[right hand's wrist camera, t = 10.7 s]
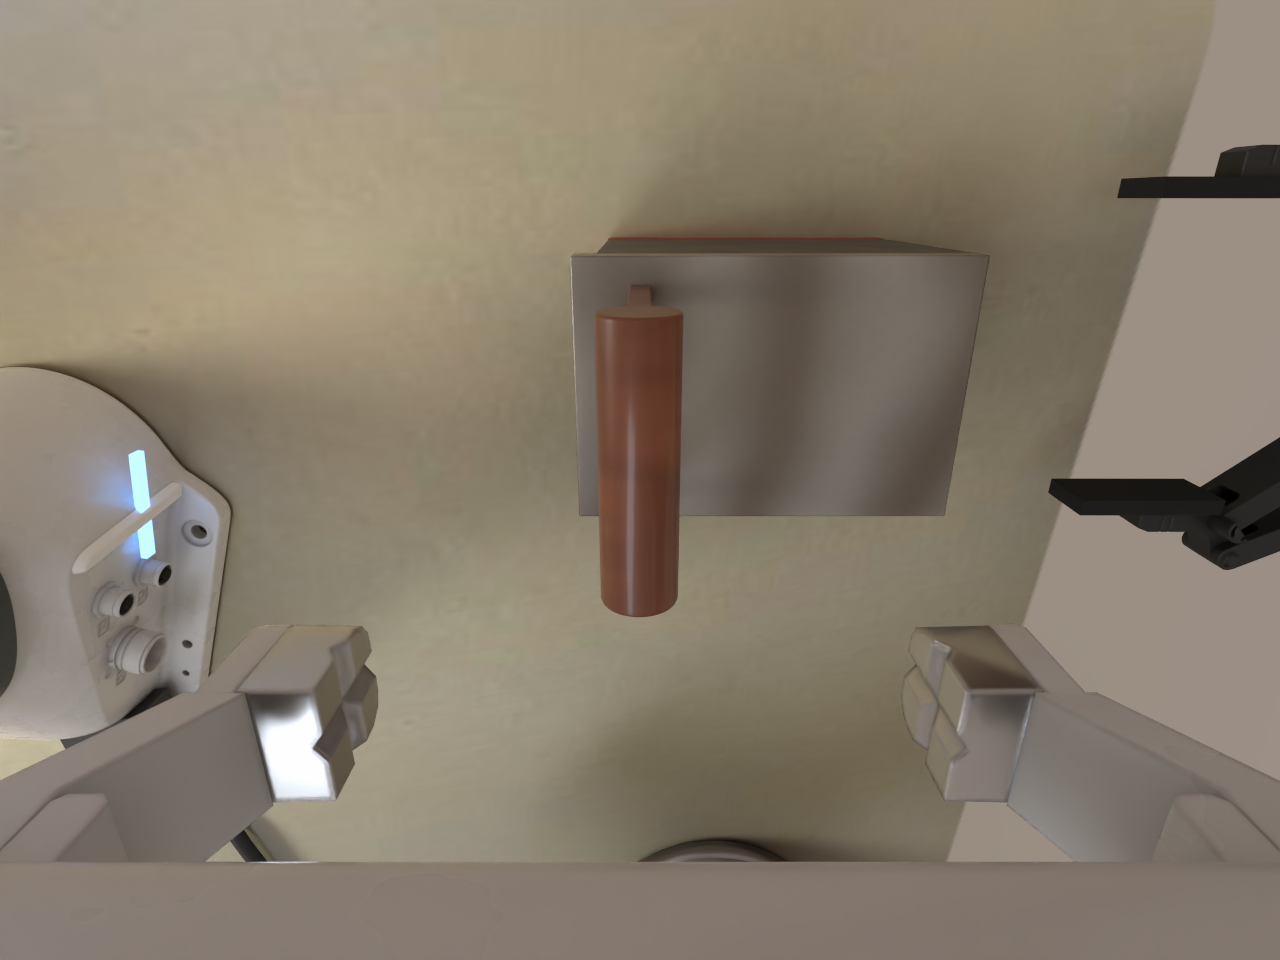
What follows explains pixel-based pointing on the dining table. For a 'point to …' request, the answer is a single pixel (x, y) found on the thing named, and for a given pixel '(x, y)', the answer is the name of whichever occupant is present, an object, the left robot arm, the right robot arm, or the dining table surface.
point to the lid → (762, 393)
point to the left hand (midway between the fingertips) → (1098, 354)
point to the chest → (764, 245)
